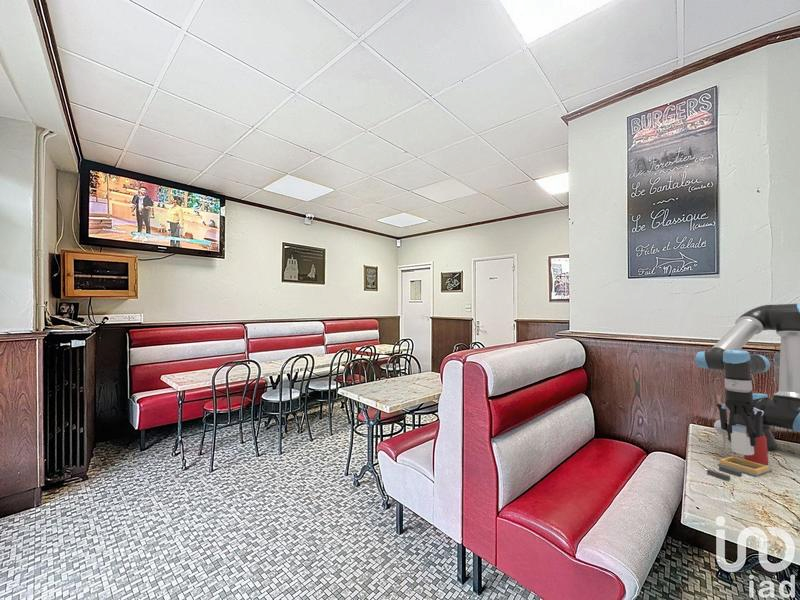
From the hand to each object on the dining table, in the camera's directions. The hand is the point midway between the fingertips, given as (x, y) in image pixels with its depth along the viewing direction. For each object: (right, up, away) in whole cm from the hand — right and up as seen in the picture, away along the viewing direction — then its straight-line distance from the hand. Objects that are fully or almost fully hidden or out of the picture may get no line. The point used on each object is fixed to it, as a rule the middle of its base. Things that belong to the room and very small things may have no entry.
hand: (742, 452), depth 131 cm
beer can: (+11, -7, +5) cm, 14 cm away
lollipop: (+4, -7, +11) cm, 14 cm away
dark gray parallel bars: (-13, -6, -6) cm, 15 cm away
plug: (0, 0, 0) cm, 0 cm away
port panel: (0, -6, 0) cm, 6 cm away
